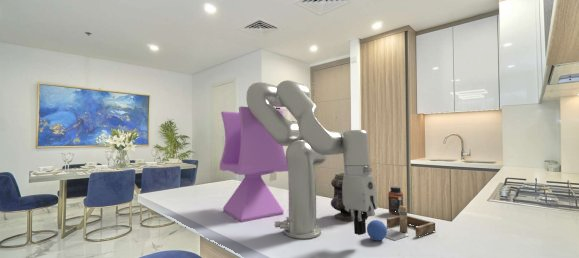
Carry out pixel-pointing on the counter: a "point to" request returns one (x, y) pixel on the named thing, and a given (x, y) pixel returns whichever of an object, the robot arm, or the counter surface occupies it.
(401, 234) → the translucent flat square slab
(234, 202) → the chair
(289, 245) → the counter surface
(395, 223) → the wooden tray
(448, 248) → the counter surface
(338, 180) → the apothecary jar
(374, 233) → the ball
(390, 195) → the supplement bottle
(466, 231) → the counter surface
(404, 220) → the pin
